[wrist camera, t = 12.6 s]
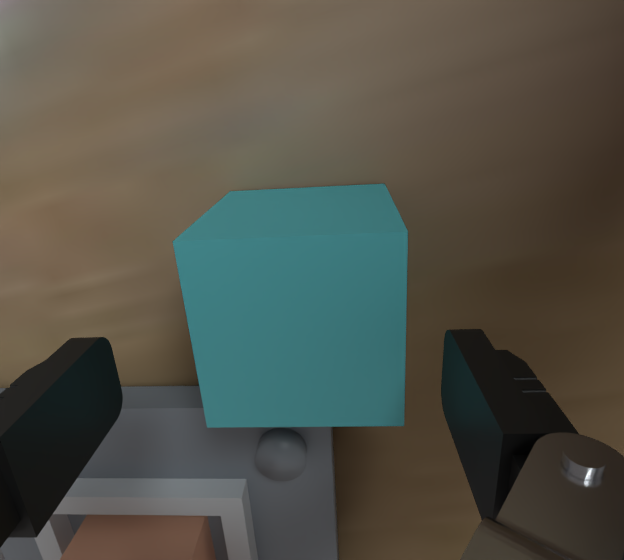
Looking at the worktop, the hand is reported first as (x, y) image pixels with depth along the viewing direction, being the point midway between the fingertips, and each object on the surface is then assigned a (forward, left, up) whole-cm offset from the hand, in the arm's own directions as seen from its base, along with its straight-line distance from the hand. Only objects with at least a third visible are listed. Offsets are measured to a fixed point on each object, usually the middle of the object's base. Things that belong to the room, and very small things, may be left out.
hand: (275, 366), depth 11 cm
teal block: (0, 0, -7) cm, 7 cm away
